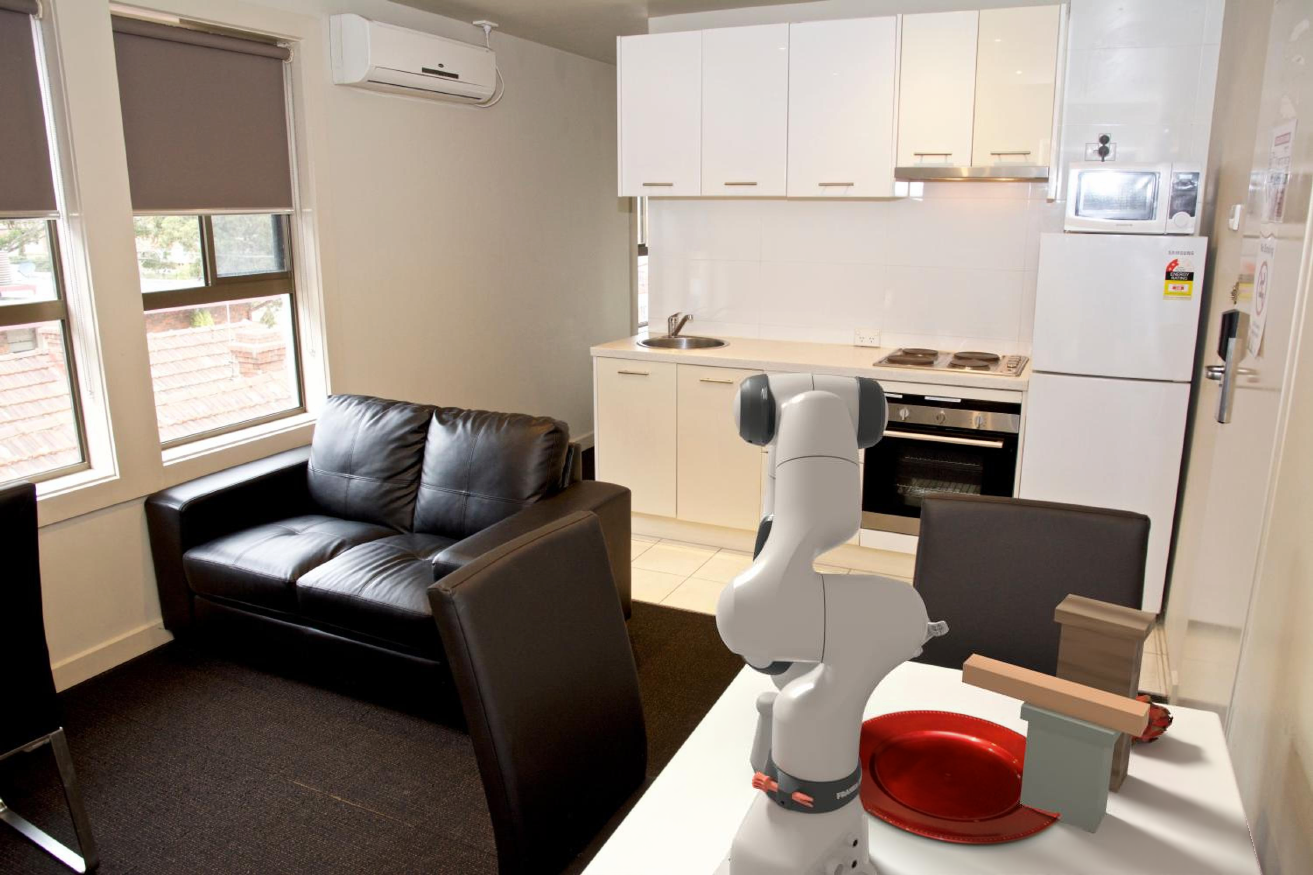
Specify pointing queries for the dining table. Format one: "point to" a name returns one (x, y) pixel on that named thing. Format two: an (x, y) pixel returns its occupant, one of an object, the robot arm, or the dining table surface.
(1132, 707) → the bar
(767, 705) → the salt shaker
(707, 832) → the dining table surface
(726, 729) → the dining table surface
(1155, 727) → the dragon fruit
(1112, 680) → the tall stand
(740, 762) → the dining table surface
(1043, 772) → the low stand
